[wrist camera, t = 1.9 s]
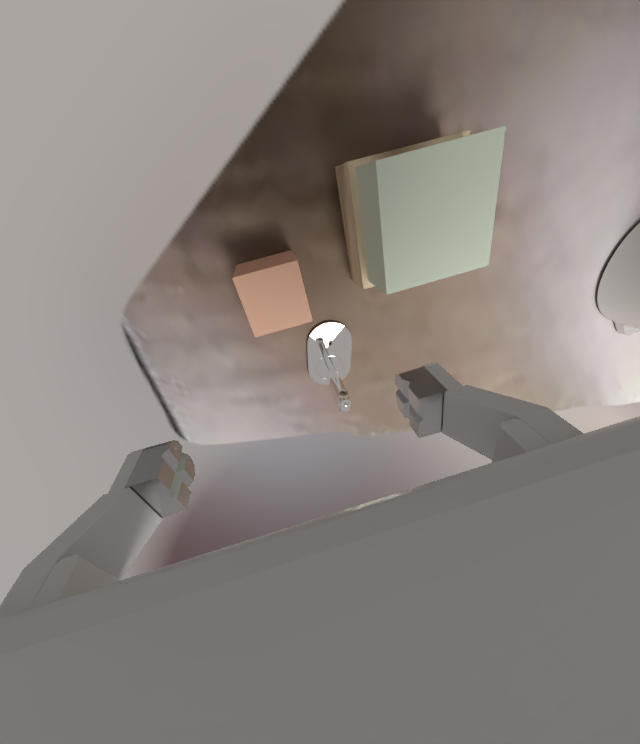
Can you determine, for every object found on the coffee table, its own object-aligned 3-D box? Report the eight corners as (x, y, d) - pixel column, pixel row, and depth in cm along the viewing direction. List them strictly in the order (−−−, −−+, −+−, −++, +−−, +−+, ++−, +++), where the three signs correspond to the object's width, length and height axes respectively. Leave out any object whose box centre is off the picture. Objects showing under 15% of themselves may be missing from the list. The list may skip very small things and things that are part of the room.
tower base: (439, 140, 22) (470, 129, 19) (436, 254, 27) (460, 262, 24) (334, 167, 22) (347, 161, 19) (350, 278, 27) (363, 289, 24)
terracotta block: (290, 249, 24) (297, 260, 20) (304, 302, 27) (312, 321, 23) (236, 264, 24) (232, 277, 20) (255, 316, 27) (255, 337, 23)
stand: (351, 318, 29) (348, 380, 33) (305, 322, 28) (308, 385, 33) (377, 352, 23) (369, 423, 27) (319, 358, 22) (320, 430, 26)
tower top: (463, 138, 19) (506, 125, 16) (456, 256, 24) (488, 265, 20) (355, 167, 19) (375, 160, 16) (368, 281, 23) (386, 294, 20)
